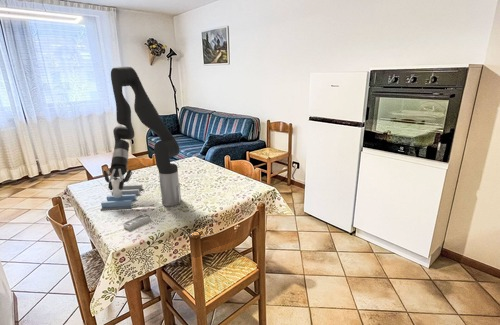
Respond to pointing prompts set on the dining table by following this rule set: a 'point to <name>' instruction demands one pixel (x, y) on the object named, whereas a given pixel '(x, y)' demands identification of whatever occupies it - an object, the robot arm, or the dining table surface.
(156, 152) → the robot arm
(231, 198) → the dining table surface
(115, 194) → the white bottle with cap
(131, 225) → the multiport hub
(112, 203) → the grey blue ridged block
